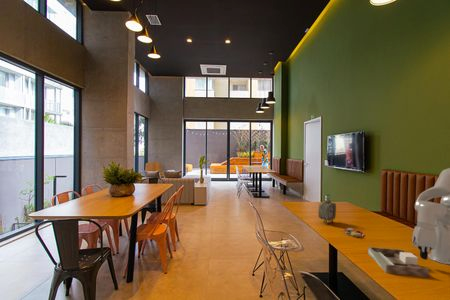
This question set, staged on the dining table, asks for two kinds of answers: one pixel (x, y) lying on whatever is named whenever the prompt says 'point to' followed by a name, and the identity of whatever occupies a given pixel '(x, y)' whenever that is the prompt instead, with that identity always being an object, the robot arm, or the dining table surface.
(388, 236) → the dining table surface
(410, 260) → the cream block
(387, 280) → the dining table surface
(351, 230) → the toy food set
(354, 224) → the dining table surface
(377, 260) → the box
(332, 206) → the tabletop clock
